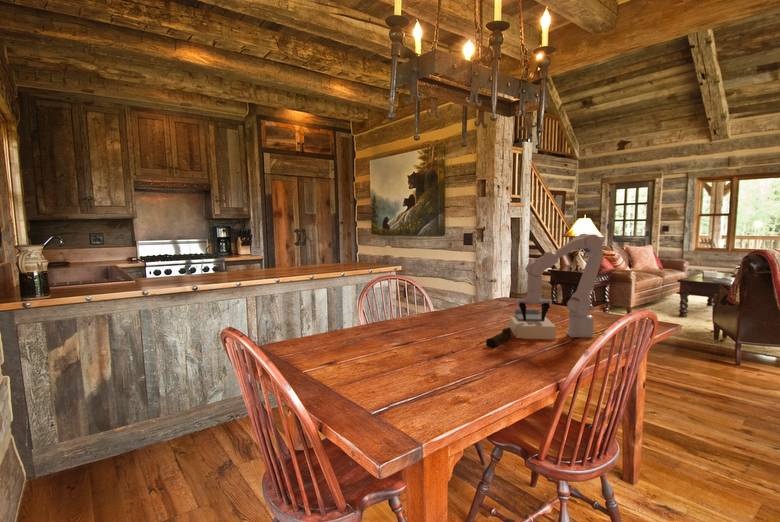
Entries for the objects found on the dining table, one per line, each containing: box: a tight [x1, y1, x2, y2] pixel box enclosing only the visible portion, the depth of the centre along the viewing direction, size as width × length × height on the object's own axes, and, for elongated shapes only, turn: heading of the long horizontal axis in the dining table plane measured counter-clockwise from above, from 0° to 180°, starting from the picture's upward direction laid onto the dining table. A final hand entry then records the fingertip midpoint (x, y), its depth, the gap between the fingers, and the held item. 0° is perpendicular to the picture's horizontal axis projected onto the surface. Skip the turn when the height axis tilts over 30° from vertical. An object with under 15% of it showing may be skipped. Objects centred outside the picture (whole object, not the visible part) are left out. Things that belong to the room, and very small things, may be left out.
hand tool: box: [485, 327, 512, 349], centre depth 165 cm, size 19×4×5 cm, turn 136°
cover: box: [514, 308, 545, 321], centre depth 182 cm, size 11×11×3 cm
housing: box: [509, 315, 557, 340], centre depth 178 cm, size 16×18×6 cm
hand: (533, 320), depth 173 cm, fingers open, 7 cm apart
